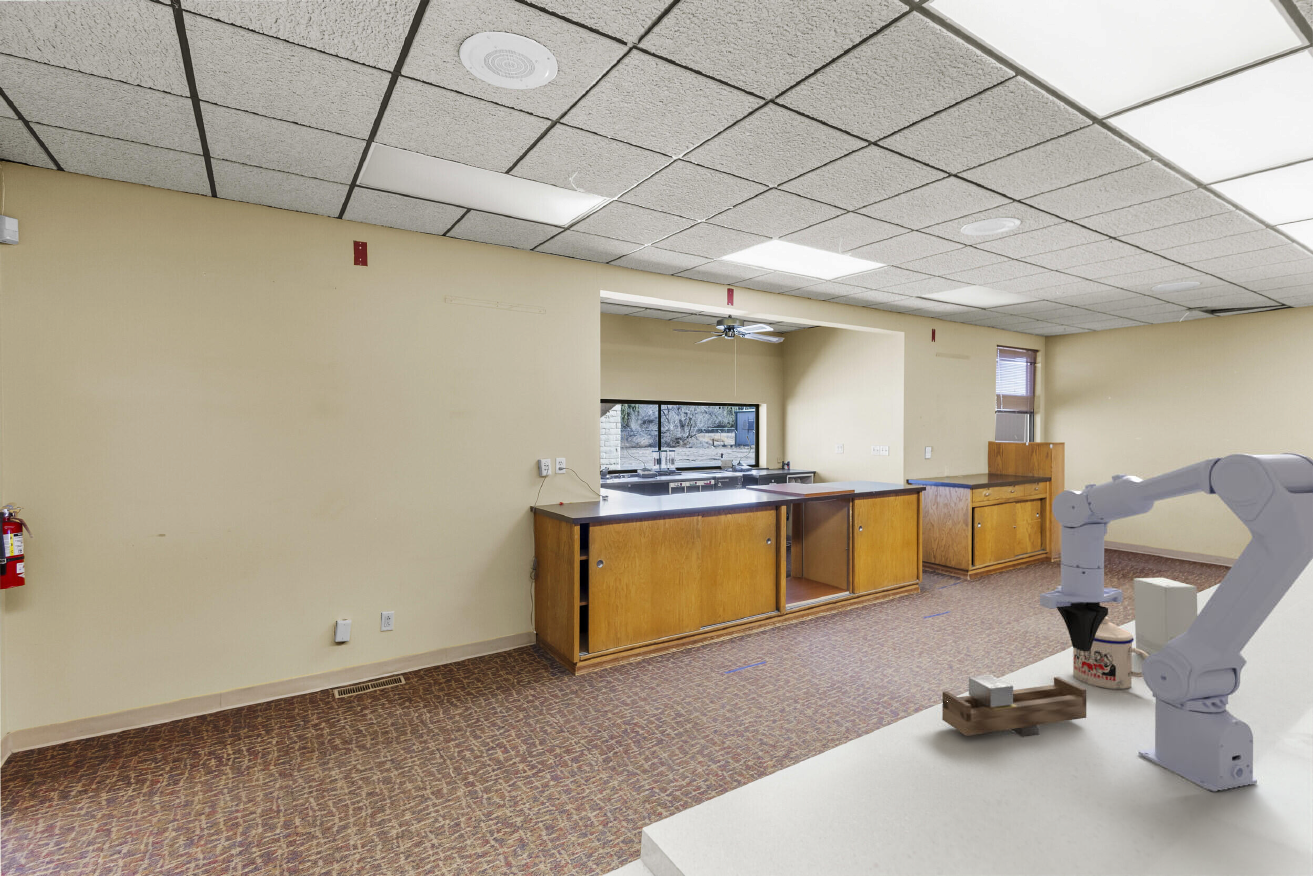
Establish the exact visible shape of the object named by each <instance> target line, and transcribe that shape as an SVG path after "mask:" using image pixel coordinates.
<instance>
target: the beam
mask: <svg viewBox="0 0 1313 876" xmlns="http://www.w3.org/2000/svg"><path fill="white" fill-rule="evenodd" d="M1053 677H1054V676H1053ZM1087 694H1088V693H1087V689H1086V688H1084V687H1082V686H1079V685H1077V684H1075V683H1073V682H1070V681H1068V680H1066V679H1064V678H1062V677H1060V676H1055V677H1054V678H1053V684H1048V685H1042V686H1033V687H1025V688H1018V689H1013V704H1012V705H1005V706H997V707H989V706H988V707H981V708H978V707H977V699H975V698H973V697H972V696H970V695H965V696H956V695H955V694H954V693H951V692H950V691H948V690H944V691H942V703H943V704H942V703H941V704H942V711H941V712H942V718H941V719H942V721H944V722H945V723H947V724H948V725H949V726H951V727H952V728H954V729H955V730H957V731H959V732H960V733H962V734H963V735H965V736H972V735H981V734H987V733H992V732H993V733H995V732H1000V731H1007V730H1010V731H1012V732H1013V733H1015V734H1016V735H1018V736H1019V737H1021V738H1026V737H1033V736H1039V735H1040V726H1041V725H1046V724H1047V725H1048V724H1053V723H1061V722H1067V721H1074V720H1075V721H1076V720H1080V719H1081V720H1082V719H1087V700H1088V699H1087ZM947 701H948V702H947ZM1039 725H1040V726H1039Z"/></svg>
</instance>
